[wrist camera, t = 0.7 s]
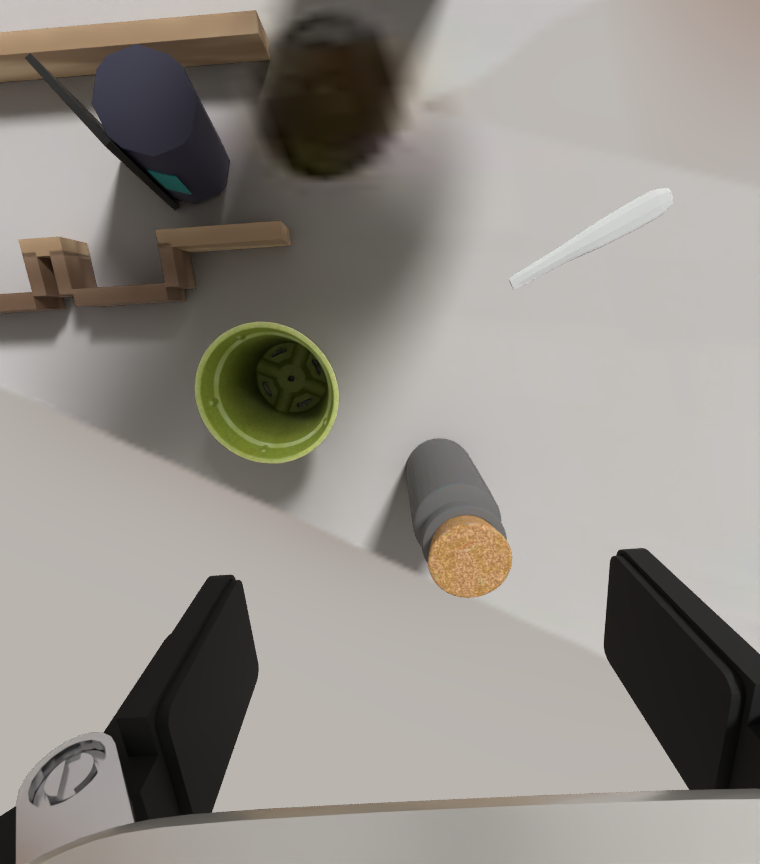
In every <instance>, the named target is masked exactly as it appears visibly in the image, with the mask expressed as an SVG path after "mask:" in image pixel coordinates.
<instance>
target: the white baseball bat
mask: <svg viewBox="0 0 760 864" xmlns="http://www.w3.org/2000/svg"><path fill="white" fill-rule="evenodd" d="M672 203H673V196H672V193H671V191H670V190H669V189H668V188H663V189H655V190H652V191H650V192H648V193H646V194H644V195H642V196H640V197H638V198H636V199H634V200H632V201H631V202H629V203H627V204H626V205H624V206H622V207H620V208H619V209H617V210H615V211H614V212H612V213H610V214H609V215H607V216H605V217H604V218H602V219H601V220H599V221H597V222H596V223H594V224H592V225H591V226H590V227H588V228H587V229H585V230H584V231H582V232H581V233H579V234H578V235H577V236H575V237H574V238H572V239H571V240H569V241H568V242H566V243H565V244H563V245H561V246H560V247H558V248H557V249H555V250H554V251H552V252H550V253H549V254H547V255H546V256H544V257H542V258H541V259H539V260H538V261H536V262H534V263H533V264H531V265H530V266H528V267H526V268H524V269H523V270H521V271H520V272H518V273H517V274H515V275H513V276H512V277H511V278H509V281H510V283H511V285H512V287H513V289H516V288H518V287H520V286H523V285H525V284H527V283H529V282H531V281H532V280H534V279H535V278H537V277H539V276H541V275H543V274H545V273H547V272H549V271H550V270H552V269H554V268H556V267H558V266H560V265H562V264H564V263H566V262H568V261H570V260H572V259H574V258H577V257H579V256H581V255H583V254H586V253H588V252H591V251H593V250H595V249H598V248H600V247H602V246H604V245H606V244H608V243H610V242H612V241H614V240H616V239H618V238H620V237H622V236H624V235H626V234H628V233H630V232H632V231H634V230H636V229H638V228H640V227H642V226H644V225H645V224H647V223H649V222H651V221H653V220H654V219H656V218H657V217H659V216H661V215H662V214H663V213H664V212H665V211H666V210H667V209H668V208H669V207H670V206H671V205H672Z"/></svg>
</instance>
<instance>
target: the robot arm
mask: <svg viewBox="0 0 760 864" xmlns="http://www.w3.org/2000/svg"><path fill="white" fill-rule="evenodd" d="M604 650H605V654H606V657H607V659H608V661H609V663H610V664H611V666H612V668H613V669H614V671H615V672H616V674H617V675H618V677H619V679H620V680H621V682H622V683H623V685H624V687H625V688H626V690H627V691H628V693H629V695H630V696H631V698H632V699H633V701H634V702H635V704H636V706H637V707H638V709H639V710H640V712H641V713H642V715H643V717H644V718H645V720H646V721H647V723H648V725H649V726H650V728H651V729H652V731H653V733H654V734H655V736H656V737H657V739H658V741H659V742H660V743H661V745H662V747H663V749H664V750H665V752H666V753H667V755H668V756H669V758H670V760H671V761H672V763H673V764H674V766H675V768H676V769H677V771H678V772H679V774H680V776H681V777H682V779H683V780H684V782H685V783H686V785H687V787H688V788H689V790H667V791H642V792H616V793H590V794H566V795H541V796H517V797H496V798H473V799H453V800H452V799H451V800H430V801H408V802H387V803H368V804H350V805H331V806H314V807H313V806H311V807H293V808H273V809H257V810H244V811H231V812H216V813H212V810H213V807H214V804H215V801H216V798H217V796H218V793H219V790H220V787H221V784H222V781H223V778H224V775H225V772H226V769H227V766H228V763H229V760H230V758H231V755H232V752H233V749H234V746H235V743H236V740H237V737H238V734H239V731H240V729H241V726H242V723H243V720H244V717H245V714H246V711H247V708H248V705H249V702H250V699H251V696H252V693H253V691H254V688H255V685H256V682H257V678H258V660H257V655H256V650H255V645H254V640H253V635H252V630H251V625H250V620H249V615H248V610H247V604H246V599H245V594H244V589H243V585H242V582H241V581H240V580H235V577H234V576H233V575H219V576H210V577H209V578H208V579H207V580H206V582H205V583H204V585H203V586H202V588H201V589H200V591H199V592H198V594H197V595H196V597H195V598H194V600H193V601H192V603H191V604H190V606H189V607H188V609H187V610H186V612H185V614H184V615H183V617H182V618H181V620H180V621H179V623H178V624H177V626H176V627H175V629H174V630H173V632H172V633H171V634H170V635H169V636H168V637H167V638H166V639H165V640H164V642H163V643H162V645H161V646H160V648H159V650H158V651H157V652H156V654H155V656H154V657H153V659H152V660H151V662H150V663H149V665H148V666H147V668H146V669H145V671H144V672H143V674H142V675H141V677H140V678H139V680H138V681H137V683H136V684H135V686H134V688H133V689H132V690H131V692H130V693H129V695H128V696H127V698H126V700H125V701H124V702H123V704H122V705H121V707H120V709H119V710H118V712H117V713H116V715H115V716H114V718H113V719H112V721H111V722H110V724H109V725H108V727H107V728H106V730H105V731H104V733H99V732H98V733H97V732H92V733H88V734H83V735H79V736H77V737H75V738H73V739H71V740H69V741H66V742H65V743H63V744H61V745H60V746H58V747H57V748H55V749H54V750H52V751H51V752H49V753H48V754H47V755H46V756H45V757H44V758H43V759H42V760H40V761H39V762H38V763H37V764H36V765H35V767H34V768H33V769H32V771H30V773H29V774H28V775H27V776H26V778H25V780H24V781H23V783H22V785H21V787H20V789H19V792H18V796H17V801H16V806H15V807H14V808H12V809H11V810H9V811H8V812H6V813H5V814H3V815H2V816H0V864H760V654H759V653H758V652H757V651H756V650H755V649H754V648H752V647H751V646H750V645H749V644H748V643H747V642H746V641H745V640H744V639H743V638H742V637H741V636H740V635H738V634H737V633H736V632H735V631H734V630H733V629H732V628H731V627H730V626H729V625H728V624H727V623H726V622H724V621H723V620H722V619H721V618H720V617H719V616H718V615H717V614H716V613H715V612H714V611H713V610H712V609H710V608H709V607H708V606H707V605H706V604H705V603H704V602H703V601H702V600H701V599H700V598H699V597H698V596H696V595H695V594H694V593H693V592H692V591H691V590H690V589H689V588H688V587H687V586H686V585H685V584H684V583H682V582H681V581H680V580H679V579H678V578H677V577H676V576H675V575H674V574H673V573H672V572H671V571H670V570H668V569H667V568H666V567H665V566H664V565H663V564H662V563H661V562H660V561H659V560H658V559H657V558H656V557H654V556H653V555H652V554H651V553H650V552H649V551H648V550H646V549H644V548H638V549H623V550H619V551H618V552H617V555H616V556H613V557H612V558H611V560H610V570H609V583H608V596H607V609H606V621H605V634H604Z"/></svg>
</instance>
